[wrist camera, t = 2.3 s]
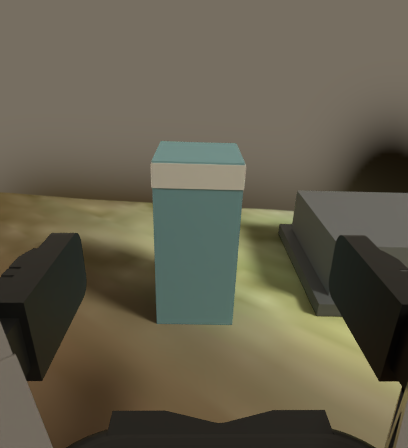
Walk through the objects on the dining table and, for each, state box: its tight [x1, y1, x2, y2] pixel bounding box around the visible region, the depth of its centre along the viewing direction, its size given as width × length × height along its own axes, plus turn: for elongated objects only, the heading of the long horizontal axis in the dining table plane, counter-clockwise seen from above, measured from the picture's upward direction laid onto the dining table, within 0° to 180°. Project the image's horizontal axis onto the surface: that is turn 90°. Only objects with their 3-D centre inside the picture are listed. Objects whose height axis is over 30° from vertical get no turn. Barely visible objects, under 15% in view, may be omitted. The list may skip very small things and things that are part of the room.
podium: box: [278, 191, 408, 316], centre depth 30 cm, size 13×13×5 cm
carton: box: [151, 141, 246, 325], centre depth 23 cm, size 5×5×11 cm
